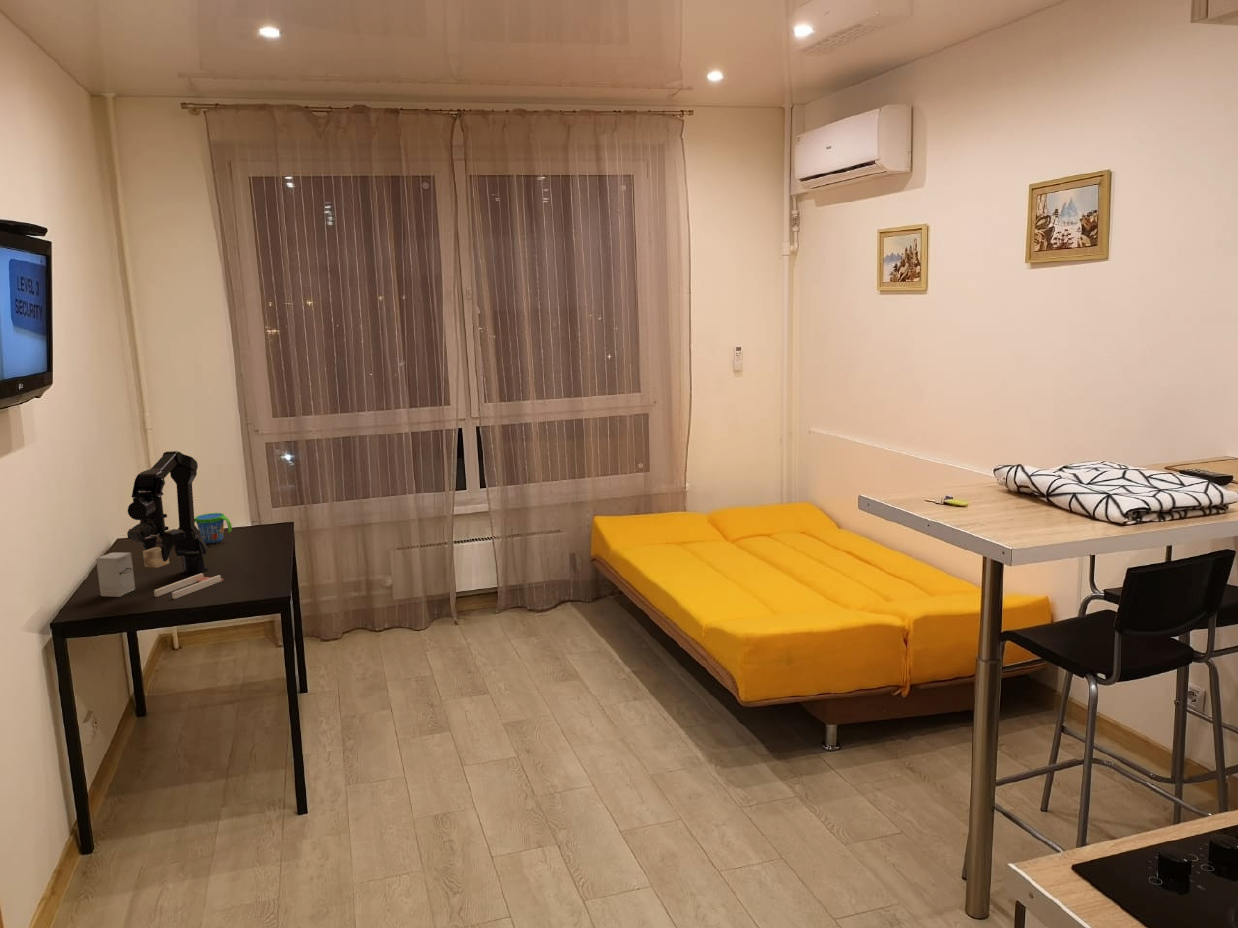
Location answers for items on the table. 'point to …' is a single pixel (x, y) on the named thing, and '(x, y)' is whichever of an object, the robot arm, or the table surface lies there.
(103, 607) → the table surface
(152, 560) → the pine block
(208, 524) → the snack cup
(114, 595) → the supplement box
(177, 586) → the channel
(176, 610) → the table surface
